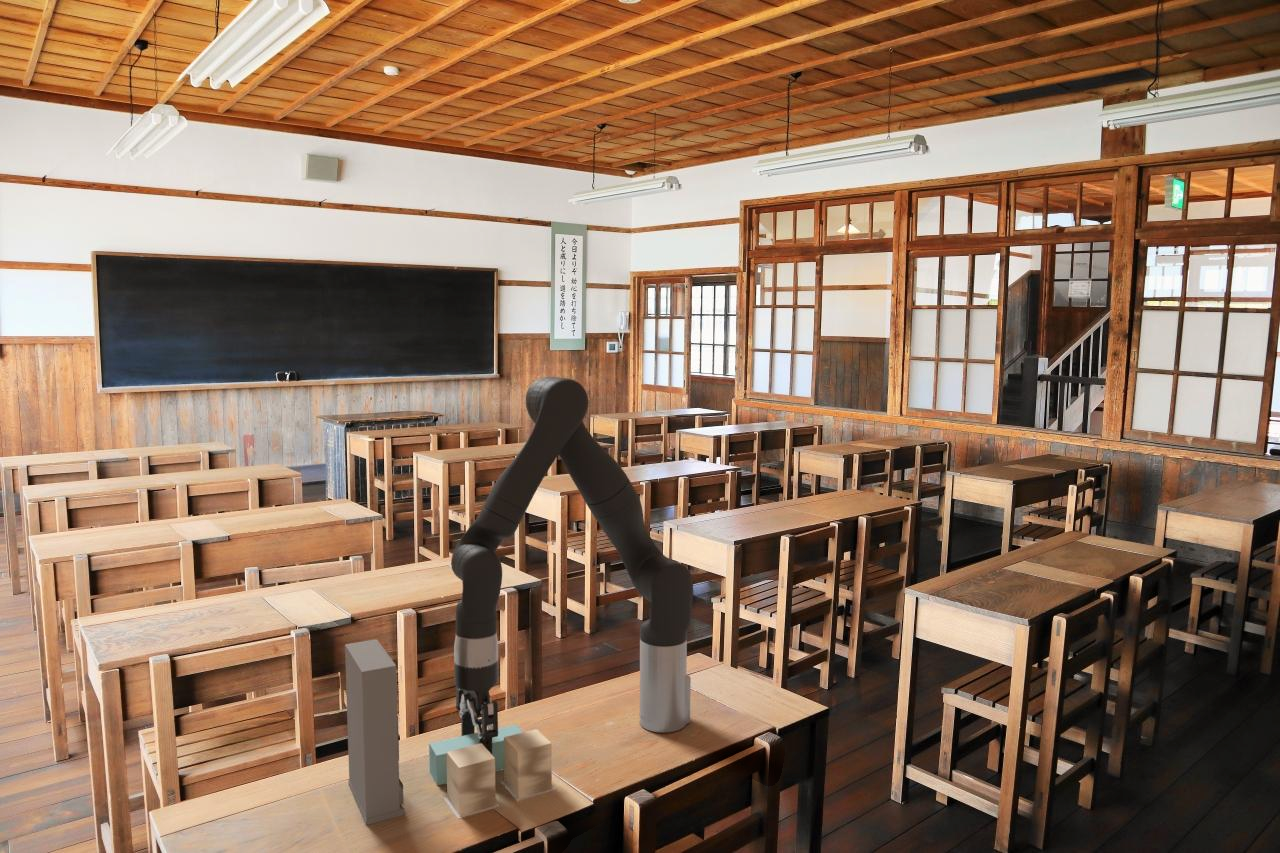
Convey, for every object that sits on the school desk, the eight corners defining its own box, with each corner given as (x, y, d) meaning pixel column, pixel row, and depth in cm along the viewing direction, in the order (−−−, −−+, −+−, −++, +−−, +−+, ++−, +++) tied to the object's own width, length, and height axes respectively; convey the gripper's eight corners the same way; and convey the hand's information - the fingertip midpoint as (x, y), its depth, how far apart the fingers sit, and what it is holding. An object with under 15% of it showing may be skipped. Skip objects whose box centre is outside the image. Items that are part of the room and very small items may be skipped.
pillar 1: (482, 788, 141) (481, 743, 140) (495, 805, 136) (494, 758, 135) (447, 798, 138) (446, 751, 137) (459, 816, 132) (458, 767, 132)
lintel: (517, 755, 154) (516, 724, 153) (526, 767, 149) (526, 735, 149) (429, 776, 146) (429, 743, 146) (437, 789, 142) (436, 755, 141)
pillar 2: (536, 773, 146) (536, 729, 145) (551, 788, 141) (551, 743, 140) (504, 782, 143) (503, 737, 142) (518, 798, 138) (518, 752, 137)
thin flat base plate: (542, 768, 149) (542, 765, 149) (567, 793, 140) (567, 790, 140) (431, 799, 138) (431, 796, 138) (451, 829, 130) (451, 826, 130)
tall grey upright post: (405, 817, 133) (401, 664, 131) (365, 828, 130) (361, 672, 128) (385, 778, 145) (381, 638, 143) (348, 787, 142) (344, 644, 140)
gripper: (512, 667, 142) (512, 759, 143) (482, 641, 154) (482, 727, 155) (469, 675, 138) (470, 770, 139) (442, 648, 150) (442, 736, 151)
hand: (476, 747), depth 147 cm, fingers open, 8 cm apart
